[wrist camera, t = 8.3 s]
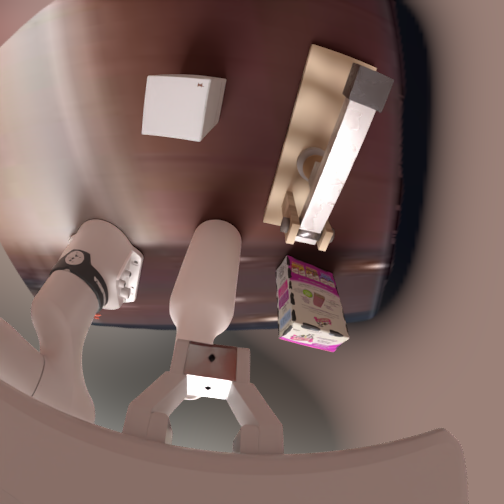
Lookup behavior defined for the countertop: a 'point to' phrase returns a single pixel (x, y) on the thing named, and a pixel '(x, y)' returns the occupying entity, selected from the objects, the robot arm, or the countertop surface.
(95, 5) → the countertop surface
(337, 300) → the candy bar box
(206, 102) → the supplement box
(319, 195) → the lever
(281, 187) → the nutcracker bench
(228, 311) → the alcohol
